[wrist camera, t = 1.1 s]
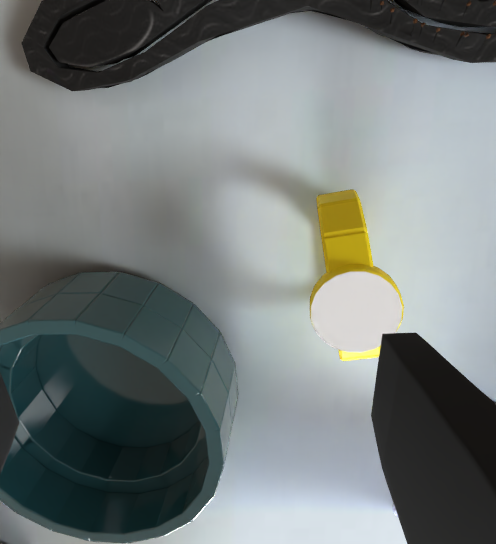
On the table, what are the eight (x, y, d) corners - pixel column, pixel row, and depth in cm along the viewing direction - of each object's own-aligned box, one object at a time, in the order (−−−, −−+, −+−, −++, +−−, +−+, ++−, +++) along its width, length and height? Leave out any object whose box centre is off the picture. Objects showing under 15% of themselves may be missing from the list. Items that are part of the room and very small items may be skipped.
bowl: (265, 304, 21) (254, 369, 16) (211, 480, 25) (191, 570, 21) (22, 237, 21) (-57, 284, 16) (12, 425, 25) (-52, 503, 21)
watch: (382, 308, 20) (412, 395, 15) (318, 317, 21) (324, 404, 15) (367, 172, 18) (396, 216, 13) (296, 185, 19) (295, 232, 13)
